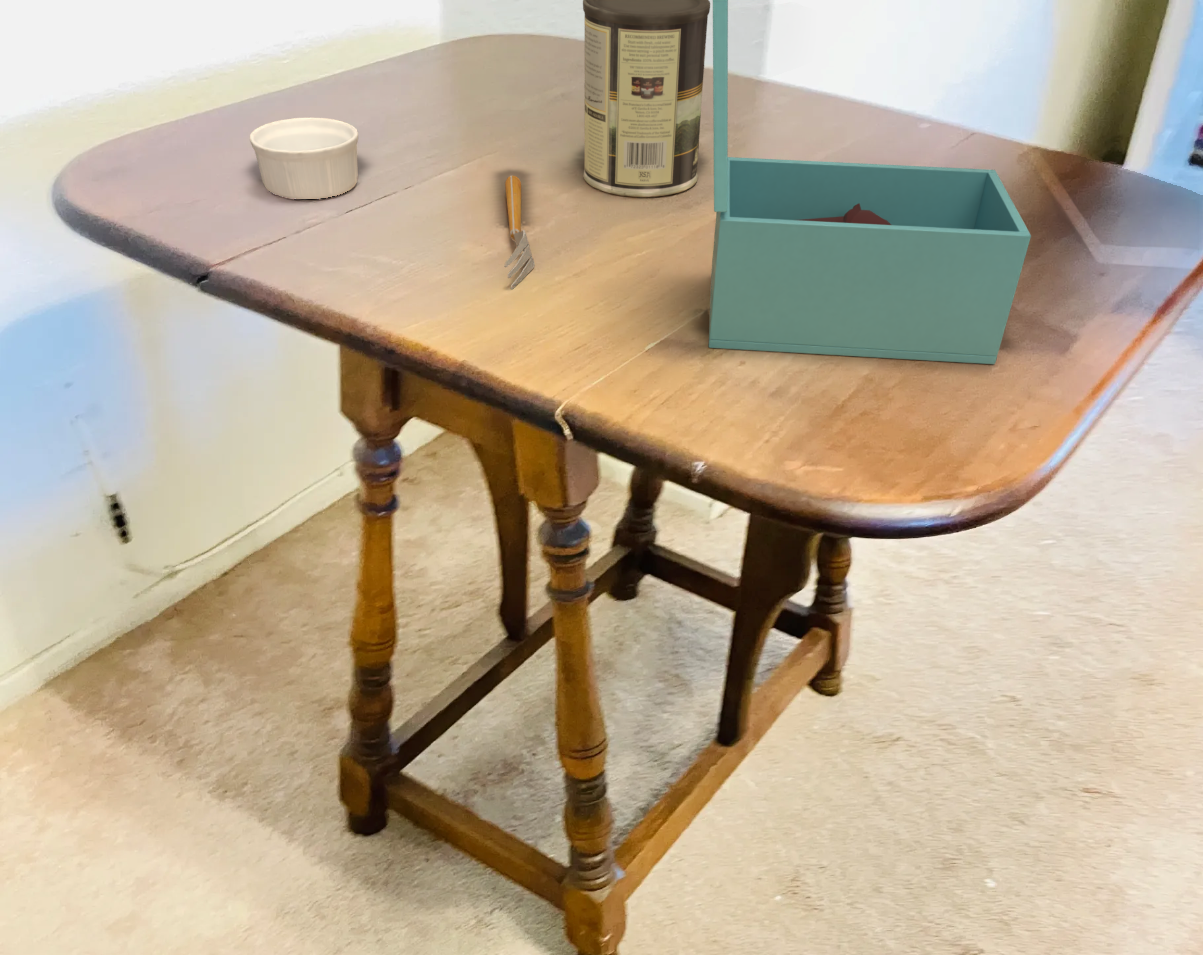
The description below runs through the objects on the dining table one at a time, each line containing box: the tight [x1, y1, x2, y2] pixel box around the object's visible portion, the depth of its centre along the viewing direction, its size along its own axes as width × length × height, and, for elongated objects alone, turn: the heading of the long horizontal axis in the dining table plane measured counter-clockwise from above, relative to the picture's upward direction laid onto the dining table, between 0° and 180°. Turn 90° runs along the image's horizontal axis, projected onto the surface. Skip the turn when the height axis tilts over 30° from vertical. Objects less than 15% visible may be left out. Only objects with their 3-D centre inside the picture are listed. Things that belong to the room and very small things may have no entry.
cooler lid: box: [712, 0, 729, 213], centre depth 64 cm, size 19×12×1 cm
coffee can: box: [582, 0, 711, 198], centre depth 91 cm, size 10×10×14 cm
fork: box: [503, 174, 535, 290], centre depth 85 cm, size 2×2×20 cm
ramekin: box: [249, 116, 359, 200], centre depth 92 cm, size 9×9×4 cm
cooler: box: [708, 156, 1032, 365], centre depth 72 cm, size 19×12×9 cm, turn 85°
